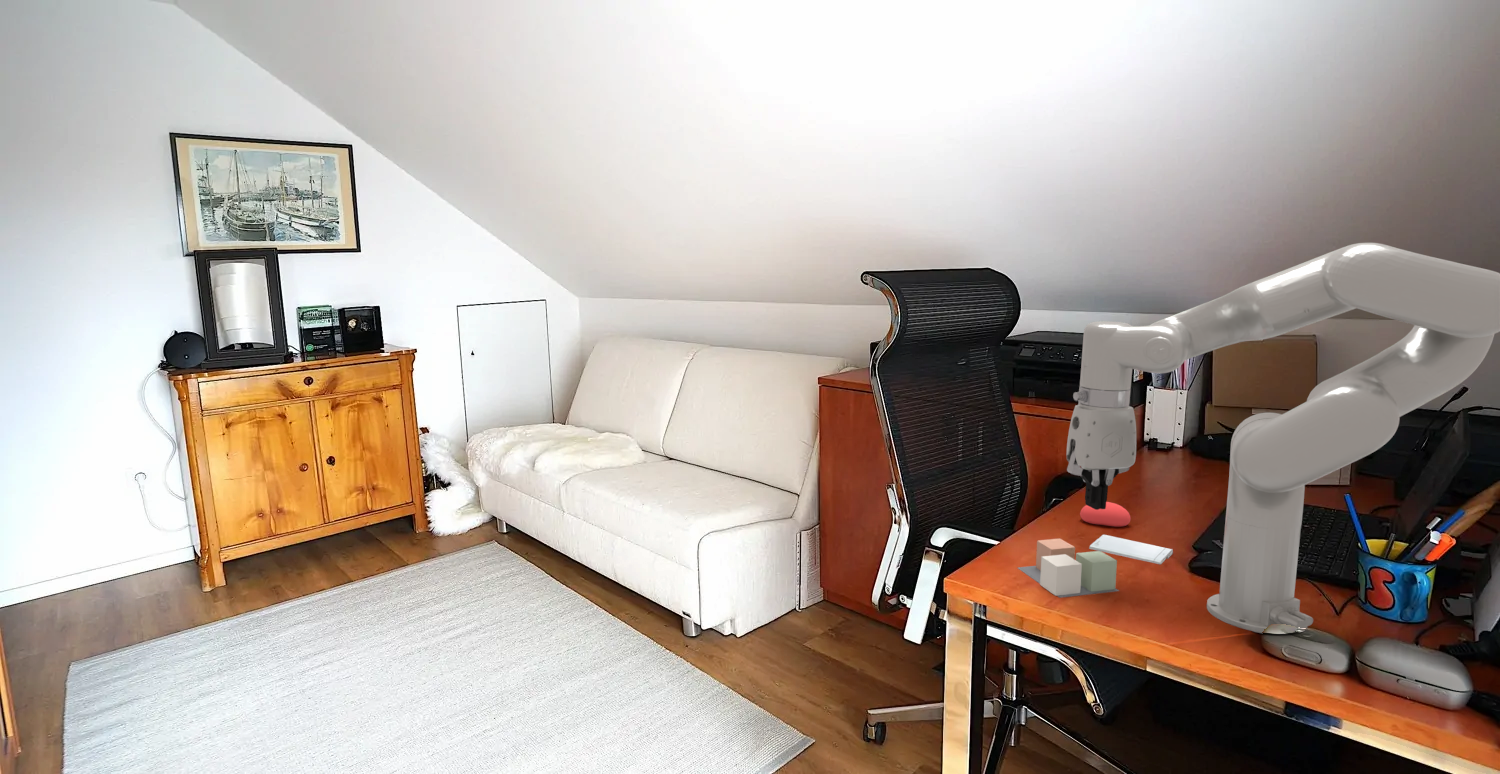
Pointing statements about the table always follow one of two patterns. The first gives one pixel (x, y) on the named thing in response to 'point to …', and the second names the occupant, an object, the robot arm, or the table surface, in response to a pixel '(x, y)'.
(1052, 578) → the block cream
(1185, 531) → the table surface
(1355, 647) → the table surface
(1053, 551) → the block terracotta
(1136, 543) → the hard drive
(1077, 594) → the felt mat
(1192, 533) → the table surface
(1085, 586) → the block sage
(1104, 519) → the stress ball
